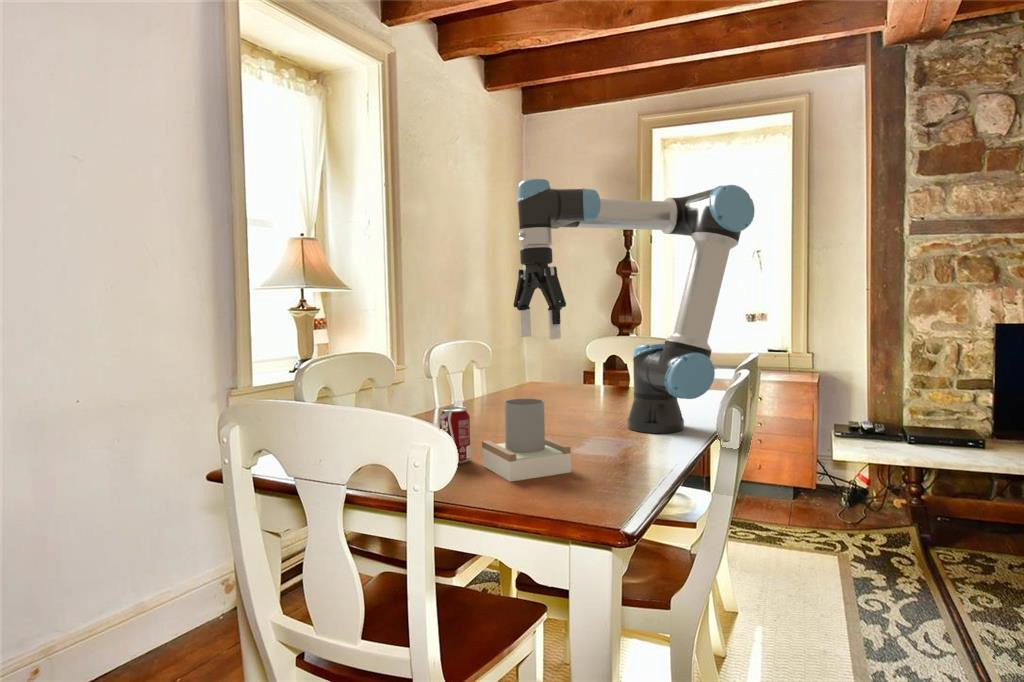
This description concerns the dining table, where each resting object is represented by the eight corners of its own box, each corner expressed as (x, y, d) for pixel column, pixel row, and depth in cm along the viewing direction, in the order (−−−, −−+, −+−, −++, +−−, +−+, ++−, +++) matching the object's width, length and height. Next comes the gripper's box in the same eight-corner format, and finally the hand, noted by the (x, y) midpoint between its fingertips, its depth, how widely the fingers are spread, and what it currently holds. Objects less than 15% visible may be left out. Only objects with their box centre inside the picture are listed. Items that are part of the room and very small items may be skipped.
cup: (541, 453, 132) (540, 405, 131) (501, 452, 134) (501, 404, 133) (547, 444, 140) (546, 398, 139) (510, 443, 142) (509, 398, 141)
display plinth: (539, 457, 146) (538, 434, 146) (570, 472, 134) (570, 446, 133) (482, 465, 140) (481, 441, 140) (509, 481, 128) (509, 454, 127)
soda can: (475, 459, 146) (474, 406, 145) (463, 466, 140) (462, 412, 139) (448, 457, 148) (446, 405, 147) (435, 464, 142) (433, 410, 141)
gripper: (497, 251, 160) (501, 336, 161) (550, 242, 138) (554, 341, 139) (524, 251, 163) (527, 334, 165) (579, 242, 141) (582, 338, 143)
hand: (539, 337), depth 152 cm, fingers open, 13 cm apart
